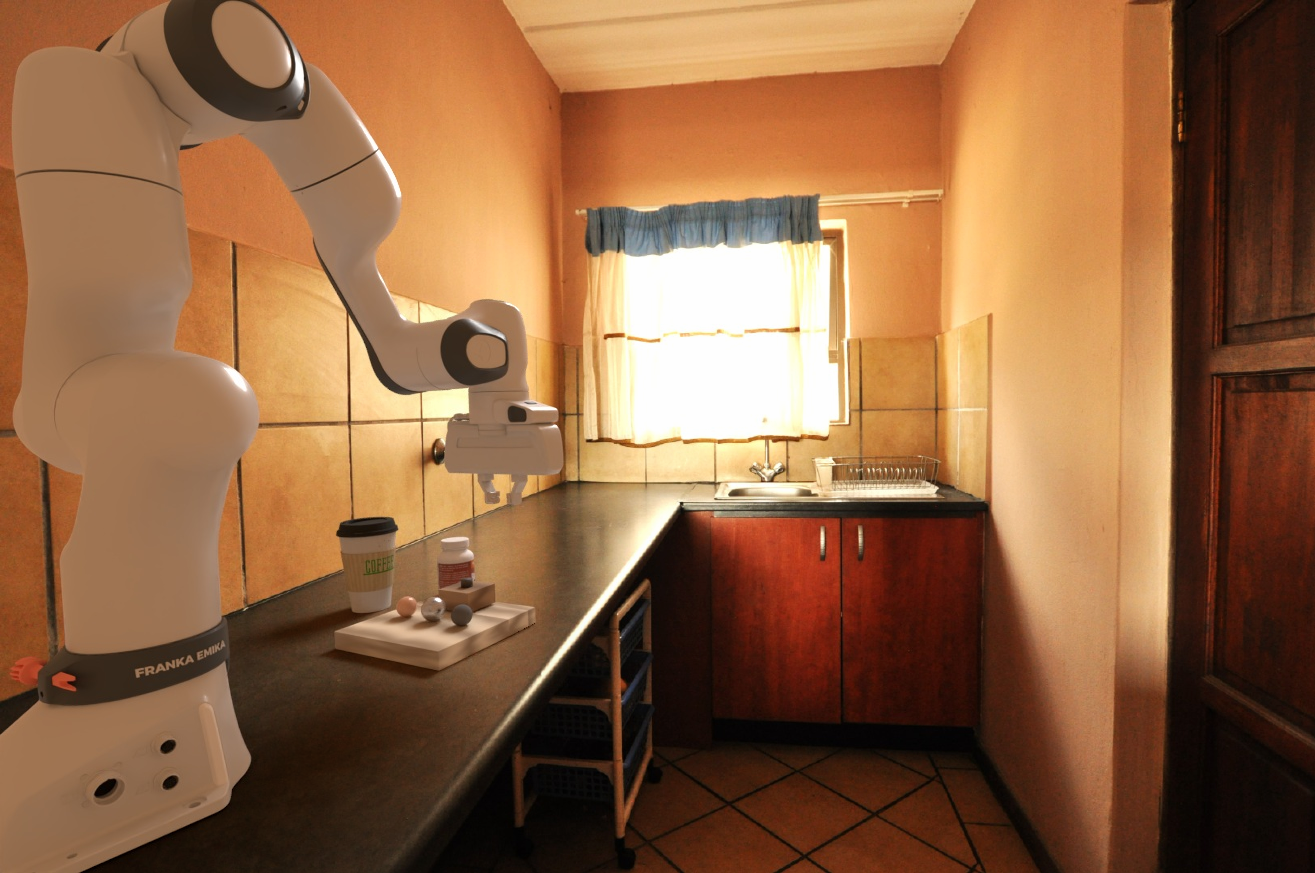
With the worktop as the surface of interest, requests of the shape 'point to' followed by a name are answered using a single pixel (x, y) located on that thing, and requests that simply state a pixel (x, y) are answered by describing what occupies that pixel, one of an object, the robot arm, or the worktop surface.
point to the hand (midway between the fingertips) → (503, 504)
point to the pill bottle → (454, 561)
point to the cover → (468, 594)
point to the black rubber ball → (461, 615)
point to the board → (433, 635)
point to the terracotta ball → (406, 606)
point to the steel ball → (433, 609)
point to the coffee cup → (368, 561)
